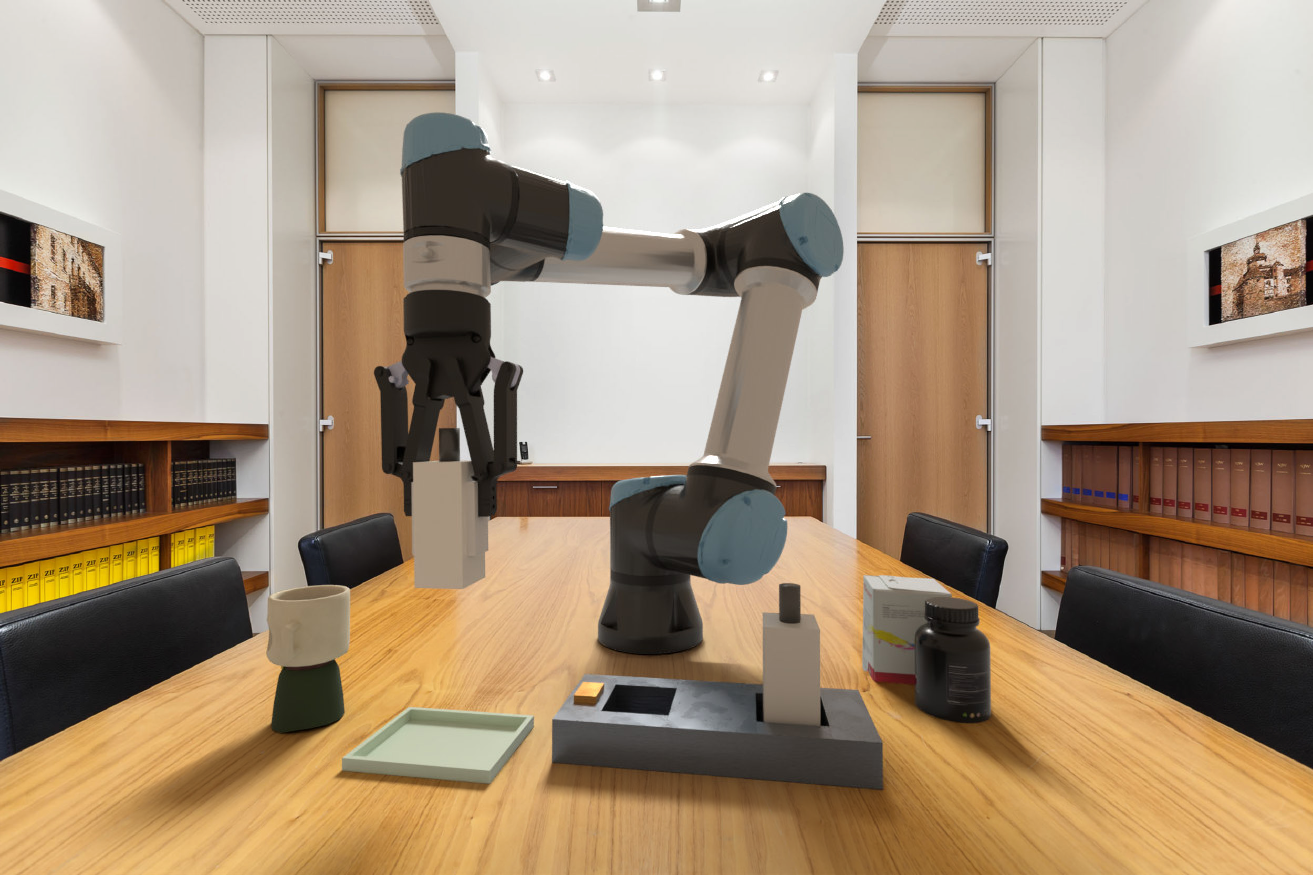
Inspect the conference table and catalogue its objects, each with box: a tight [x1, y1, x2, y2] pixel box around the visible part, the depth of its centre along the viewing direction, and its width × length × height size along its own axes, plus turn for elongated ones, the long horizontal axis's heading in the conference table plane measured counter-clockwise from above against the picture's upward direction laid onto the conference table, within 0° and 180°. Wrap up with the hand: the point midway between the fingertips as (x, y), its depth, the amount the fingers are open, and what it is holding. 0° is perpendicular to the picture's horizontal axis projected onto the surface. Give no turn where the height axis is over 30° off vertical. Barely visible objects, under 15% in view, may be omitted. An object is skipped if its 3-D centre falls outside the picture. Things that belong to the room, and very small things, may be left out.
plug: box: [413, 427, 486, 590], centre depth 54 cm, size 4×4×14 cm
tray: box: [341, 706, 535, 785], centre depth 54 cm, size 10×13×2 cm
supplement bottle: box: [914, 596, 992, 724], centre depth 60 cm, size 7×7×12 cm
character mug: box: [265, 584, 351, 734], centre depth 59 cm, size 11×7×13 cm, turn 9°
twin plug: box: [762, 582, 821, 726], centre depth 51 cm, size 4×4×14 cm
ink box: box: [861, 574, 953, 685], centre depth 70 cm, size 9×9×12 cm
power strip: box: [551, 673, 884, 791], centre depth 52 cm, size 10×26×6 cm, turn 81°
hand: (450, 552), depth 54 cm, fingers closed on plug, 4 cm apart
